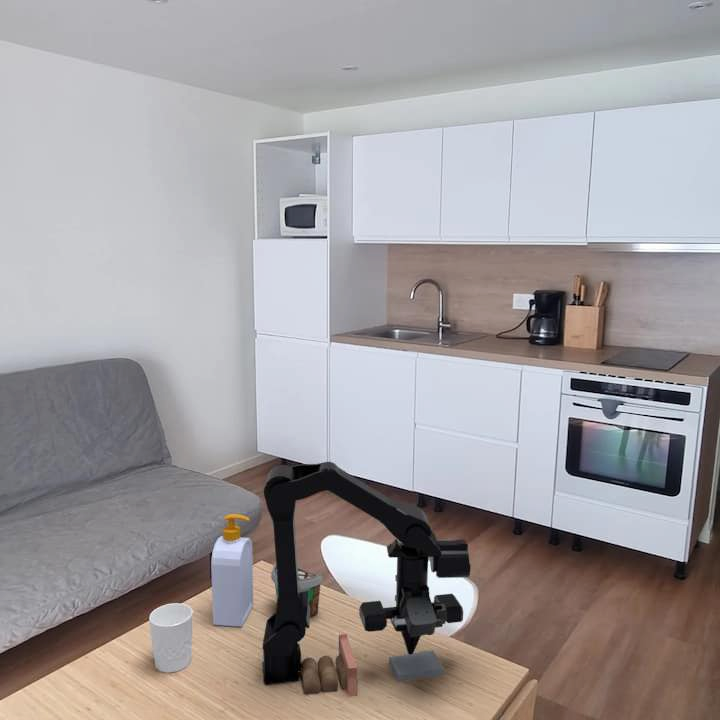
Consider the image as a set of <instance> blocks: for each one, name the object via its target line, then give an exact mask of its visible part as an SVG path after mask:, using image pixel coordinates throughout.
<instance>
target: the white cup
mask: <svg viewBox="0 0 720 720" xmlns="http://www.w3.org/2000/svg"><path fill="white" fill-rule="evenodd" d="M193 613H194V612H193V608H191V606H189V605H188V604H185V603H175V602H173V603H167V604H164V605H161V606H159V607H157V608H155V609H154V610H152V612H151V613H150V614H149V618H148V619H149V627H150V639H151V648H152V652H153V653H152V654H153V656H154V665H155V666H154V667H155V669H157V670H158V671H160V672H161V673H167V674H168V673H176V672H179V671H181V670H184V669H185V668H186V667H188V666H190V664H191V661H192V647H193V615H194V614H193Z"/></svg>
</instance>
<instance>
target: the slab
mask: <svg viewBox="0 0 720 720" xmlns="http://www.w3.org/2000/svg"><path fill="white" fill-rule="evenodd" d="M388 658H389V660H388V665H389V666H390V668H391V671H392V673H393V674H394V677H395V679H396V681H397V683H403V682H408V681H413V680H419V679H425V678H431V677H437V676H443V675H445V667H444V666H443V663H442V662H441V660H440V659H439V657H438V656H437V654H436V652H435V651H434V650H433V649H432V650H426V651H419V652H415V653H414V652H413V654H410V655H409V654H408V653H407V654H401V655H396V656H390V657H388Z"/></svg>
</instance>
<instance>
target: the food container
mask: <svg viewBox="0 0 720 720" xmlns="http://www.w3.org/2000/svg"><path fill="white" fill-rule="evenodd" d="M270 579H271V580H272V582H273V583H274V586H275V595H276V602H277V601H278V582H277V568H276V562H275V563H274V565H273V567H272V569H271V576H270ZM298 581H299V586H300V589H301V591H302V592H304V591H309V598H308V604H309V606H310V619H312V618H313V617H315V616H317V614H318V612H319V601H320V595H321V594H320V592H321V584H323V582H324V578H323V575H322V572H319V573H317V574H315V573H310V572H307V571H305V570H304V569H301V568H298Z"/></svg>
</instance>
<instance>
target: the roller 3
mask: <svg viewBox="0 0 720 720" xmlns="http://www.w3.org/2000/svg"><path fill="white" fill-rule="evenodd" d="M335 666H336V669H337V674H338V677H339V681H340V684H341V687H342V689H344V690H347V672H346V668H345V665H344V661H343V658H342V654H340V655H339V654H338V655H337V656H336V657H335ZM358 683H359V681H358V679H357V684H358Z"/></svg>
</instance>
